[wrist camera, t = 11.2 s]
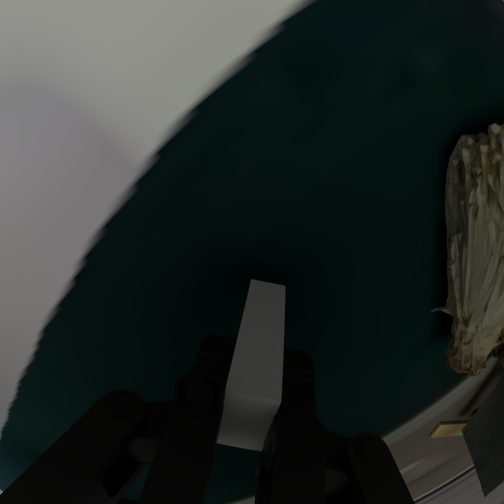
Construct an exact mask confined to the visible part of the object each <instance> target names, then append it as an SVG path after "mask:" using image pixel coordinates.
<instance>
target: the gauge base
mask: <svg viewBox="0 0 504 504" xmlns="http://www.w3.org/2000/svg"><path fill="white" fill-rule="evenodd" d="M467 422H468V421H458V422H440V423H439V424H438V425H437V427H436V428H435V429H434V430H433V431H432V433H431V434H430V435H429V436H430V438H435V437H449V436H459V435H463V434H462V431H461V430H462V428H463V427H464V426H465V425H466V424H467Z"/></svg>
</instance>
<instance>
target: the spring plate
mask: <svg viewBox="0 0 504 504" xmlns="http://www.w3.org/2000/svg"><path fill="white" fill-rule="evenodd" d="M461 431H462V434H463V437H464V439H465V442H466V444H467V447H468V450H469V452H470V455H471V458H472V461H473V463H474V466H475V469H476V472H477V475H478V478H479V481H480V484H481V487H482V490H483V494H484V497H487V496H490V495H493V494H495V493H497V492H498V491H499V490H500V489H502V488H503V487H504V374H503V376H502V377H501V379H500V380H499V382H498V383H497V385H496V386H495V387H494V389H493V390H492V392H491V393H490V394H489V396H488V397H487V398H486V400H485V401H484V402H483V404H482V405H481V406H480V408H479V409H478V410H477V411H476V413H475V414H474V415H473V416H472V418H471V419H470V420H469V421H468V422H467V424H466V425H465V426H464V427H463V428H462V430H461Z"/></svg>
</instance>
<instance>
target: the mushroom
mask: <svg viewBox="0 0 504 504" xmlns="http://www.w3.org/2000/svg"><path fill="white" fill-rule="evenodd" d="M488 134H489V135H487V134H485V133H483V132H482V133H479V134H470V135H461V137H460V139H459V141H458V143H457V145H456V147H455V149H454V151H453V153H452V155H451V156H450V159H449V164H448V169H447V175H446V187H445V215H446V226H447V278H448V298H447V302H446V305H445V307H438V308H434V309H433V310H432V311H431V312H433V311H437V310H442V311H444V312H446V313H448V314H450V315H451V316H452V317H453V324H452V329H451V334H452V335H453V338H452V340H451V341H450V342H449V344H448V350H447V352H446V353H445V360H446V363H447V365H448V366H449V367H450V368H451V369H454V370H455V371H456V372H457V373H462V372H467V373H468V376H476V375H478V374H480V372H481V369H483V368H485V367H486V358H487V356H488V354H489V353H490V351H491V356H492V357H495V358H497V357H498V359H499V362H500V365H501V366H503V367H504V124H502V125H500V126H499V125H497V124H496V123H494V124H491V125H489V126H488Z"/></svg>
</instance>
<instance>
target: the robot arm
mask: <svg viewBox="0 0 504 504" xmlns="http://www.w3.org/2000/svg"><path fill="white" fill-rule="evenodd" d="M284 320H285V286H283V285H278V284H273V283H268V282H263V281H258V280H253V279H251V283H250V287H249V291H248V296H247V300H246V304H245V309H244V313H243V317H242V321H241V326H240V330H239V334H238V338H237V339H234V338H229V337H225V336H220V335H215V334H210V335H209V336H207V337H206V338H205V339H204V340H203V341H202V343H201V345H200V348H199V351H198V353H197V356H196V358H195V361H194V364H193V366H192V369H191V372H190V373H186V374H184V375H183V376H181V377H179V378H178V380H177V381H176V383H175V399H173V400H171V401H167V402H160V403H154V402H143V400H142V398H141V397H139V396H138V395H137V394H136V393H134V392H131V391H128V390H114V391H110V392H109V393H107V394H105V395H104V396H103V397H102V398H101V399H100V400H99V401H97V402H96V403H95V404H94V405H93V406H92V407H91V408H90V409H89V410H88V411H87V412H86V413H85V414H84V415H83V416H82V417H81V418H80V419H79V420H78V421H77V422H76V423H75V424H74V425H72V426H71V427H70V428H69V429H68V430H67V431H66V432H65V433H64V434H63V435H62V436H61V437H60V438H59V439H58V440H57V441H56V442H55V443H54V444H53V445H52V446H51V447H50V448H49V449H47V450H46V451H45V452H44V453H43V454H42V455H41V456H40V457H39V458H38V459H37V460H36V461H35V462H34V463H33V464H32V465H31V466H30V467H29V468H28V469H27V470H26V471H25V472H23V473H22V474H21V475H20V476H19V477H18V478H17V479H16V480H15V481H14V482H13V483H12V484H11V485H10V486H9V487H8V488H7V489H6V490H5V491H4V492H3V493H2V494H1V495H0V504H203V501H204V497H205V493H206V488H207V484H208V479H209V475H210V471H211V466H212V462H213V457H214V452H215V447H216V443H219V444H224V445H229V446H234V447H239V448H245V449H251V450H257V451H262V449H263V446H264V449H263V457H262V460H261V462H260V464H259V466H258V469H257V471H256V474H255V475H257V476H258V480H257V488H256V496H255V504H415V503H414V501H413V499H412V497H411V495H410V492H409V490H408V488H407V486H406V484H405V482H404V480H403V477H402V475H401V473H400V471H399V469H398V467H397V465H396V463H395V461H394V459H393V456H392V454H391V452H390V450H389V448H388V446H387V445H386V443H385V442H384V441H383V440H382V439H381V438H380V437H378V436H377V435H374V434H371V433H359V434H356V435H354V436H353V437H352V438H351V439H349V438H346V437H343V436H340V435H337V434H335V433H333V432H330V431H329V430H327V429H326V428H325V427H323V425H322V423H321V421H320V420H319V419H318V418H317V414H316V403H315V386H314V373H313V361H312V359H311V357H310V356H309V354H308V352H307V351H304V350H298V349H292V348H286V347H284ZM148 463H152V464H151V467H150V469H149V472H148V475H147V478H146V480H145V483H144V486H143V488H142V491H141V494H140V497H139V499H138V502H137V503H133V502H128V501H119V500H120V498H121V497H122V496H123V494H124V493H125V492H126V491H127V489H128V488H129V487H130V486H131V484H132V483H133V482H134V480H135V479H136V478H137V477H138V475H139V474H140V473H141V471H142V470H143V469H144V467H145V466H146V465H147V464H148Z"/></svg>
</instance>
